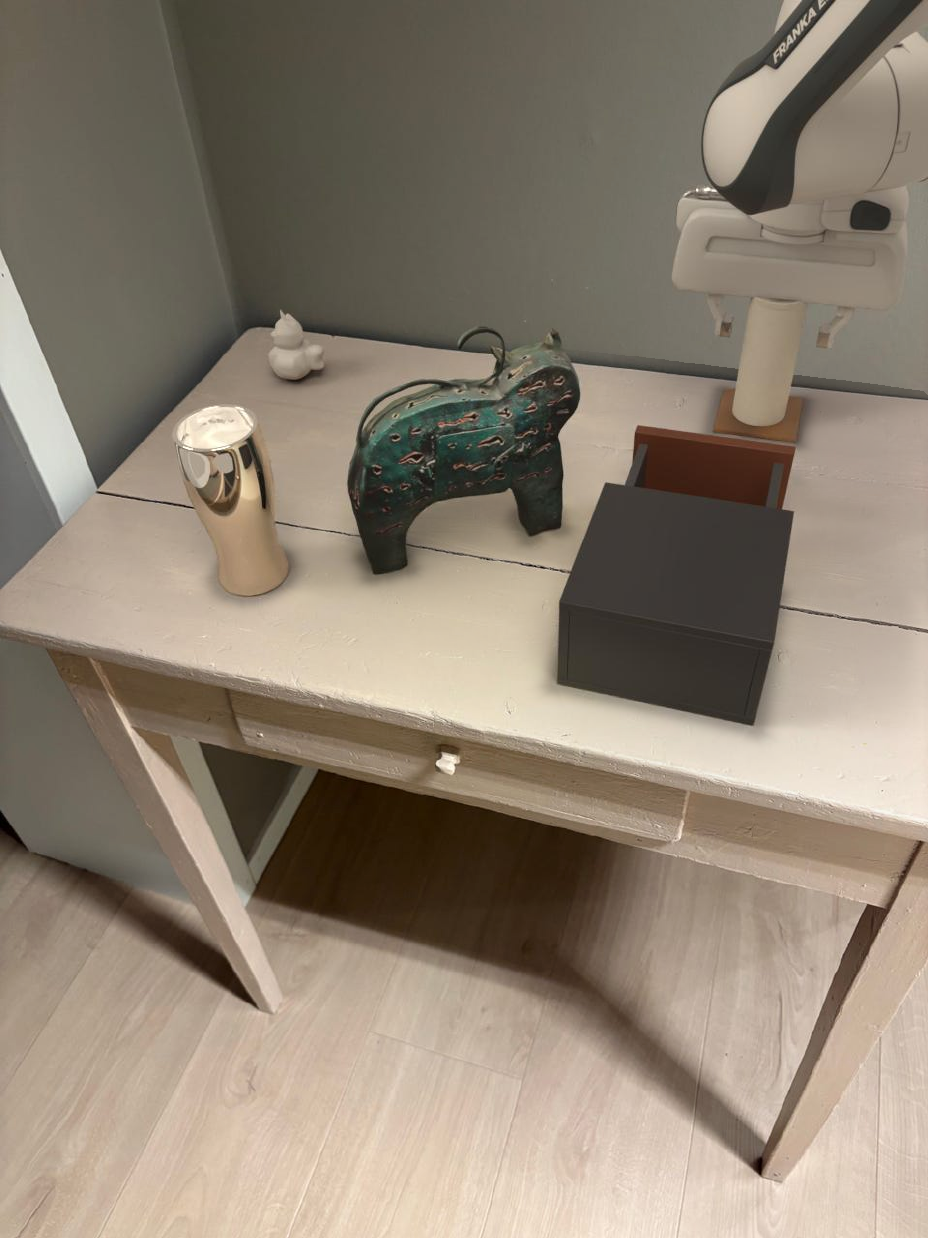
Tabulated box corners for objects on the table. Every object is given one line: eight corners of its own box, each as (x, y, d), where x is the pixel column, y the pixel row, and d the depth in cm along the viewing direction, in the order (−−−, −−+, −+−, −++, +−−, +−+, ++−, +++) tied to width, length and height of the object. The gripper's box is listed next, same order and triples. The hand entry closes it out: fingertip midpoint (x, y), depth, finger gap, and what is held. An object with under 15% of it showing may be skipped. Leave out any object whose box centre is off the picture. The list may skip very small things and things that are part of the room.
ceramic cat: (559, 496, 90) (564, 292, 76) (587, 537, 85) (598, 328, 71) (354, 547, 86) (319, 342, 72) (372, 592, 81) (338, 383, 68)
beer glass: (307, 555, 85) (276, 408, 75) (271, 606, 81) (232, 458, 70) (238, 542, 87) (198, 397, 77) (199, 591, 83) (151, 444, 72)
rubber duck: (282, 361, 111) (269, 295, 105) (336, 366, 110) (325, 299, 104) (264, 385, 107) (249, 318, 102) (319, 390, 106) (307, 323, 100)
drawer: (641, 461, 92) (646, 399, 87) (786, 482, 88) (800, 418, 83) (598, 581, 80) (602, 516, 75) (764, 611, 76) (779, 545, 71)
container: (788, 402, 99) (813, 280, 90) (783, 430, 95) (809, 306, 86) (734, 395, 100) (754, 275, 91) (727, 423, 96) (747, 300, 87)
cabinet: (600, 563, 83) (605, 481, 77) (774, 594, 79) (794, 510, 73) (556, 684, 73) (558, 601, 67) (753, 726, 69) (774, 642, 63)
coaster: (802, 400, 99) (803, 397, 99) (795, 442, 94) (796, 439, 94) (724, 391, 102) (724, 387, 101) (712, 431, 96) (713, 428, 96)
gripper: (673, 196, 83) (658, 343, 93) (926, 214, 78) (883, 368, 87) (685, 170, 87) (670, 313, 97) (926, 186, 82) (885, 335, 91)
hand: (772, 339), depth 92 cm, fingers open, 8 cm apart
